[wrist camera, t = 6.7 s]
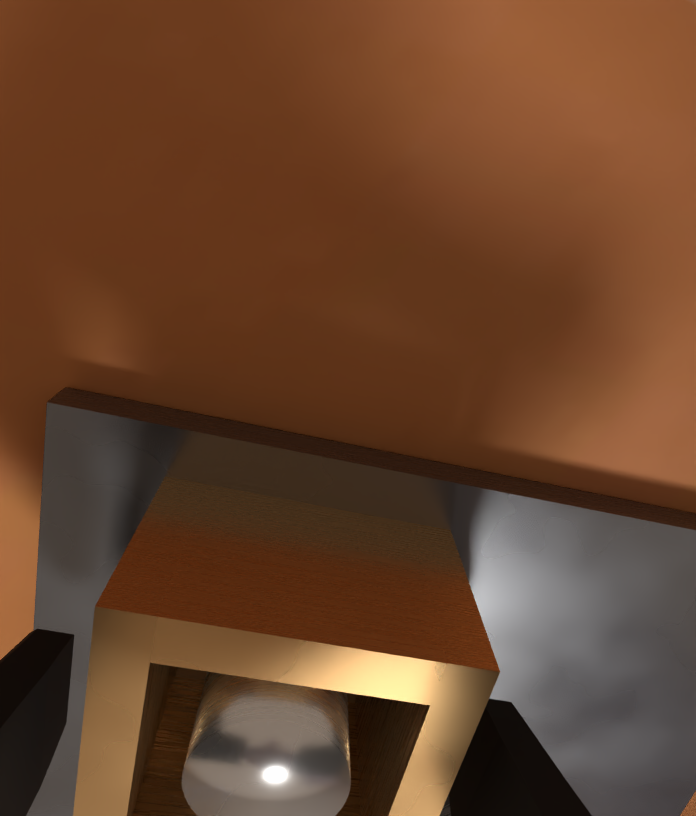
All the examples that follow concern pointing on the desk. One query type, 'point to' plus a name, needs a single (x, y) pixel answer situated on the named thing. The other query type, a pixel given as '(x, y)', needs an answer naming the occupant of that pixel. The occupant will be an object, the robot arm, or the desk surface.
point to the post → (267, 749)
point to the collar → (283, 644)
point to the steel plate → (481, 557)
